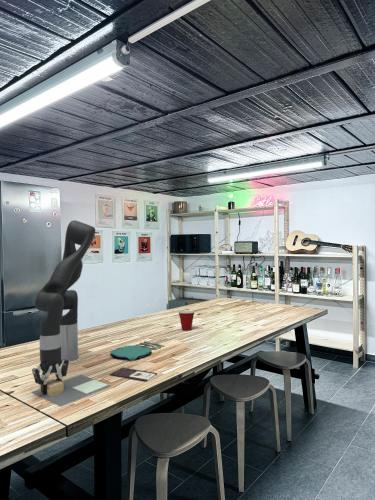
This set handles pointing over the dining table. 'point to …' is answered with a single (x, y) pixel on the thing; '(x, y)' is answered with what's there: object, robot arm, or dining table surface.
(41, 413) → the dining table surface
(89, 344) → the dining table surface
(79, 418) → the dining table surface
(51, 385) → the oak block
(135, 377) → the chocolate bar
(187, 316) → the plastic cup
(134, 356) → the table tennis paddle
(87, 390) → the rubber mat
